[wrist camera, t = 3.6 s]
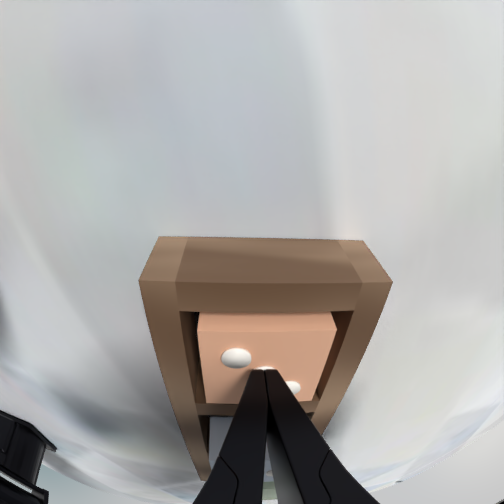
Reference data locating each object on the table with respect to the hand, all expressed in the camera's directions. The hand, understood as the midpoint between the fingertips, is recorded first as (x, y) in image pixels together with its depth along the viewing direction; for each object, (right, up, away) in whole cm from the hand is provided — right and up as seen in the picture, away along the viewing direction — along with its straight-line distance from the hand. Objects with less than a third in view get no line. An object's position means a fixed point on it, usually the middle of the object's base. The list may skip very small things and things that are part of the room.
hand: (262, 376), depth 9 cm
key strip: (0, -4, +5) cm, 7 cm away
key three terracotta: (0, +1, +2) cm, 2 cm away
